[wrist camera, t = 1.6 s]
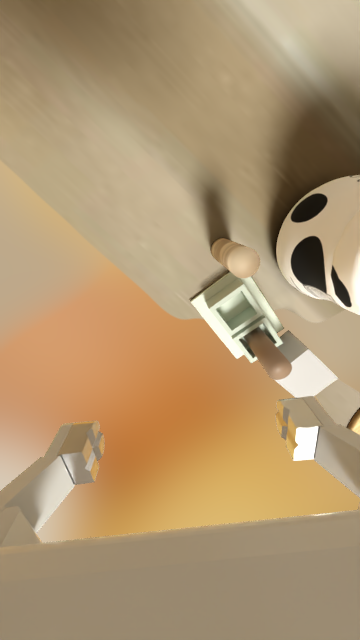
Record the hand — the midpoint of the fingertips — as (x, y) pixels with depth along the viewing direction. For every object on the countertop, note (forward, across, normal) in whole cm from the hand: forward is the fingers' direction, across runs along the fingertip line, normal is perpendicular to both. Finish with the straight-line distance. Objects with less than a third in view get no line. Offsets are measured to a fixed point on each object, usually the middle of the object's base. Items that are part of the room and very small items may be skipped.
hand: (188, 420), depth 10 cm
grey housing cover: (+33, -21, +20) cm, 44 cm away
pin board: (+32, -11, +9) cm, 35 cm away
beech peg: (+32, -8, -3) cm, 33 cm away
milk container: (+33, -25, -3) cm, 41 cm away
